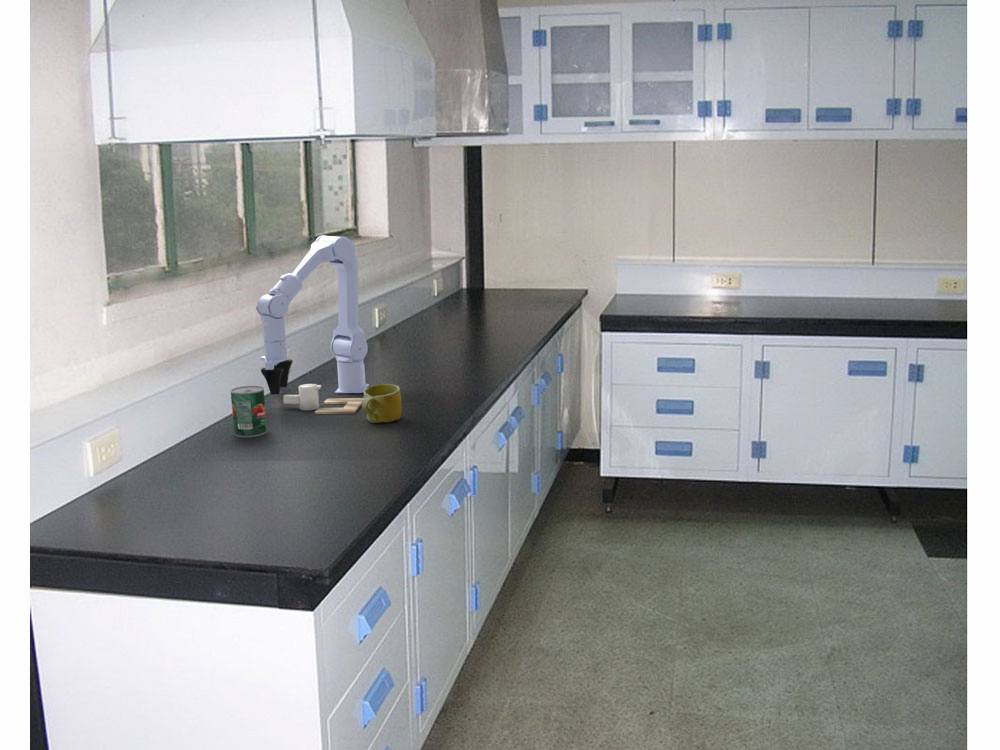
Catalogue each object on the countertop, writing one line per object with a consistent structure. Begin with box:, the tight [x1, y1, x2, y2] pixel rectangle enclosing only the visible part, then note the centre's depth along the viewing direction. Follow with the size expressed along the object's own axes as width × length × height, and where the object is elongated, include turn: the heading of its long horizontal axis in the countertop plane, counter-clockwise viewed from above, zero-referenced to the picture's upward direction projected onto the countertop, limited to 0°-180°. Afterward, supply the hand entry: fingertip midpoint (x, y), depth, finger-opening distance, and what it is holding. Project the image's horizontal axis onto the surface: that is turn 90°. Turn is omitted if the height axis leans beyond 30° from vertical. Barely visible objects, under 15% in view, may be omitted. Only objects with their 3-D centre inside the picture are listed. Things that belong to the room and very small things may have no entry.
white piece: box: [282, 383, 322, 411], centre depth 275 cm, size 10×5×6 cm, turn 83°
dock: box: [314, 397, 364, 415], centre depth 275 cm, size 14×10×1 cm
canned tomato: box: [230, 385, 268, 438], centre depth 250 cm, size 8×8×11 cm
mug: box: [361, 383, 402, 424], centre depth 259 cm, size 12×10×10 cm
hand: (279, 390), depth 275 cm, fingers open, 7 cm apart
